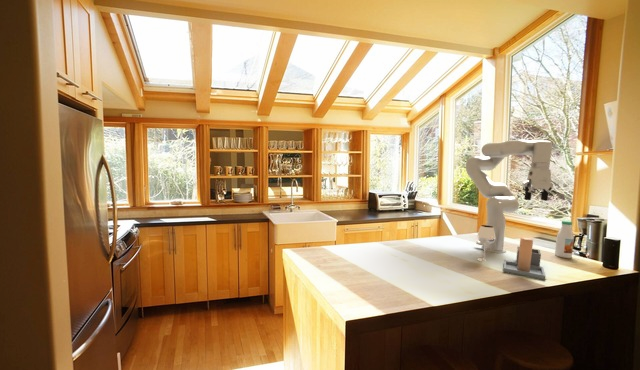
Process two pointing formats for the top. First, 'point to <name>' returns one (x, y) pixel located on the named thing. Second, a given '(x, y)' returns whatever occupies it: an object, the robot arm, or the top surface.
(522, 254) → the tan tall block
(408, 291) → the top surface
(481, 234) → the wineglass
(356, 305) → the top surface
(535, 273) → the tray
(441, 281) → the top surface
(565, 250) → the milk bottle
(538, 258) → the grey open box
